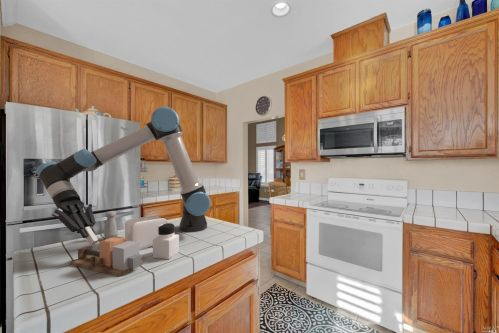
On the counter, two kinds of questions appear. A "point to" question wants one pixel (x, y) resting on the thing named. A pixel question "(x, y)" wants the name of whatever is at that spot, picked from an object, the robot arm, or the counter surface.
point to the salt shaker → (110, 225)
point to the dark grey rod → (92, 252)
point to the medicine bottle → (165, 242)
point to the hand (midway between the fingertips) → (94, 242)
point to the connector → (126, 255)
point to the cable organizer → (143, 230)
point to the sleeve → (109, 249)
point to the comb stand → (96, 263)
